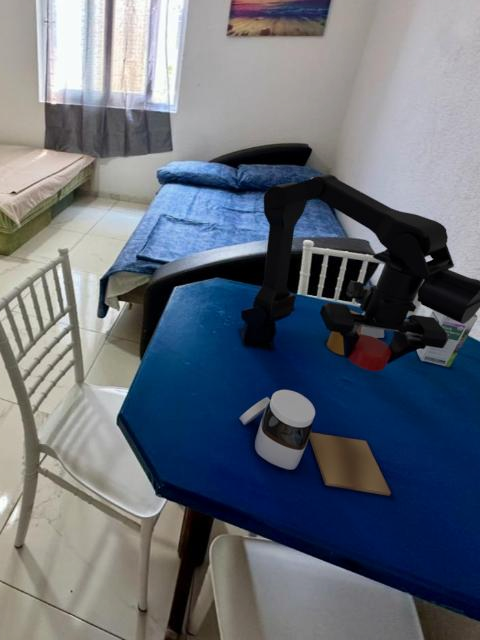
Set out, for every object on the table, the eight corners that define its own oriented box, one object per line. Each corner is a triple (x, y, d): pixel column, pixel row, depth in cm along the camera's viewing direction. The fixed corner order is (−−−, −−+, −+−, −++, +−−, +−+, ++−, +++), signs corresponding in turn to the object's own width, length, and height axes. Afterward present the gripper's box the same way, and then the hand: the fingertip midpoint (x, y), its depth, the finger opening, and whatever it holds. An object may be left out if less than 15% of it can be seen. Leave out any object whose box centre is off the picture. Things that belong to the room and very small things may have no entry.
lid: (385, 356, 78) (391, 342, 76) (384, 376, 73) (391, 362, 71) (347, 343, 81) (352, 330, 79) (344, 361, 76) (350, 348, 75)
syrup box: (420, 361, 96) (447, 311, 89) (413, 345, 101) (438, 297, 94) (449, 368, 94) (479, 317, 87) (441, 352, 99) (469, 303, 92)
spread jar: (294, 483, 68) (314, 437, 63) (227, 450, 73) (240, 405, 68) (304, 432, 77) (322, 388, 72) (244, 406, 82) (257, 363, 77)
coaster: (325, 485, 68) (326, 482, 68) (307, 434, 77) (309, 431, 76) (389, 496, 67) (391, 493, 66) (364, 443, 75) (366, 440, 75)
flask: (389, 341, 102) (404, 308, 97) (357, 336, 103) (371, 304, 98) (377, 323, 108) (391, 292, 103) (348, 319, 109) (360, 288, 105)
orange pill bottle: (331, 353, 97) (343, 322, 93) (323, 338, 102) (335, 308, 97) (356, 357, 96) (370, 325, 92) (347, 341, 101) (360, 310, 97)
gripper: (434, 275, 75) (402, 341, 82) (325, 261, 78) (303, 326, 86) (468, 309, 65) (428, 380, 72) (341, 292, 69) (315, 361, 76)
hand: (365, 359), depth 77 cm, fingers closed on lid, 6 cm apart
